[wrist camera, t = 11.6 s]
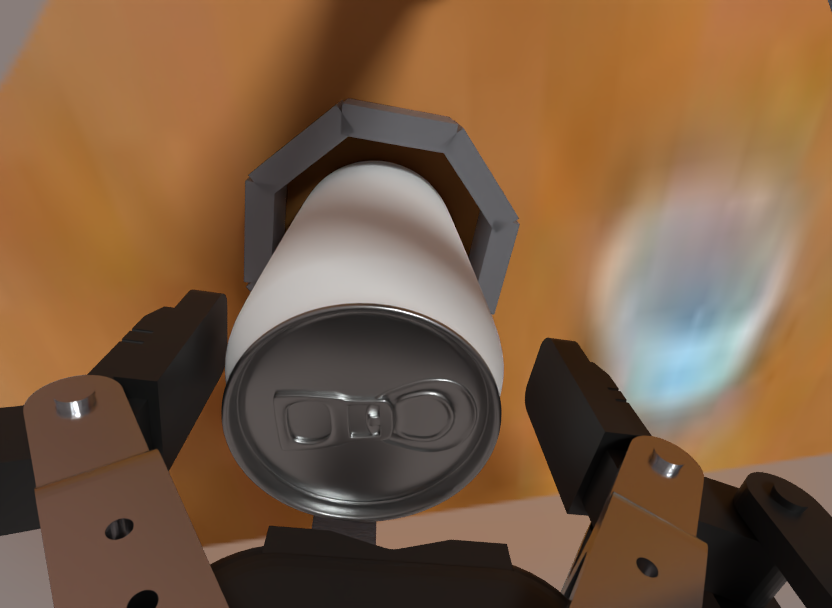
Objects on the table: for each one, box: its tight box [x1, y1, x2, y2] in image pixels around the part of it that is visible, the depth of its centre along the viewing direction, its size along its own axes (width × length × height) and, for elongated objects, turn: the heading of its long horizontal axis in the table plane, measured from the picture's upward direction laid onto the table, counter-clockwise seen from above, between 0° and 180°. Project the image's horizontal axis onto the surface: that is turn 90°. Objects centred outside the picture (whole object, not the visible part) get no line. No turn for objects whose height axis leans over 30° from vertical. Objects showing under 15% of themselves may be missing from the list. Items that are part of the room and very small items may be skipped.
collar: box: [244, 98, 520, 315], centre depth 19 cm, size 10×10×2 cm
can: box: [222, 161, 504, 522], centre depth 15 cm, size 6×6×12 cm
